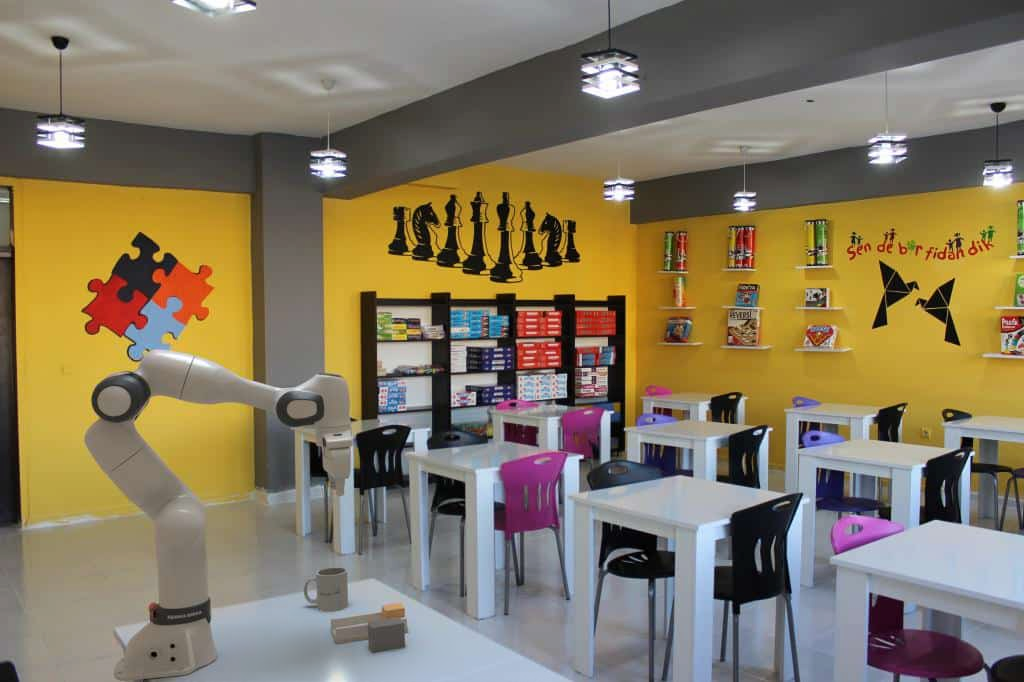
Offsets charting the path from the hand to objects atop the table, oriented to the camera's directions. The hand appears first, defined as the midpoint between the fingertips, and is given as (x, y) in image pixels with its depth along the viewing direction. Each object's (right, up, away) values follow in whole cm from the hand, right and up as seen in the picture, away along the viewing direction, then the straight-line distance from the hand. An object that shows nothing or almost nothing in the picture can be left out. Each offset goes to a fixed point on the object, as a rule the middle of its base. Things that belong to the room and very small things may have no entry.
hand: (337, 492), depth 203 cm
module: (+13, -37, -4) cm, 40 cm away
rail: (+7, -37, +7) cm, 39 cm away
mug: (-9, -38, +28) cm, 48 cm away
